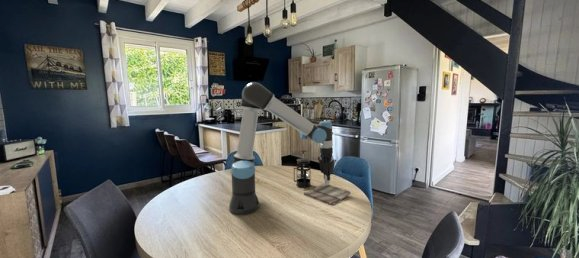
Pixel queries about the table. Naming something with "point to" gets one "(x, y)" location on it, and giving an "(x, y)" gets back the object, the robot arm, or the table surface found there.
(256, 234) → the table surface
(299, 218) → the table surface
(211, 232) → the table surface
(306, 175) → the french press
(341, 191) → the plank
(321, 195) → the laid board
